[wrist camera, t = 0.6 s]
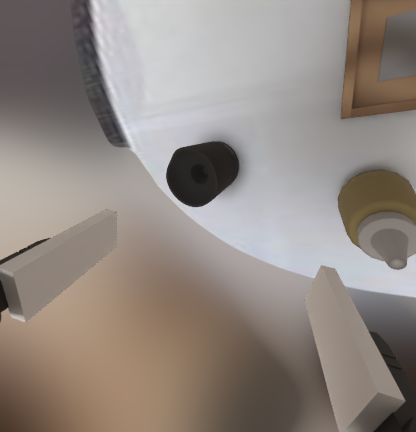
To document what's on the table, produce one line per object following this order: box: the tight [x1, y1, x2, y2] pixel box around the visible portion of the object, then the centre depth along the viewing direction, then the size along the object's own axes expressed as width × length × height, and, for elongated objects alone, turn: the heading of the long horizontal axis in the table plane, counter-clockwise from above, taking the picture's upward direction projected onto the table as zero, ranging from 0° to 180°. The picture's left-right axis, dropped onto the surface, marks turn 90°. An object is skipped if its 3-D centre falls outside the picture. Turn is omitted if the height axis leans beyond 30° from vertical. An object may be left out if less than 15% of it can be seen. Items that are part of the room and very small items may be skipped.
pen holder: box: [166, 142, 239, 207], centre depth 37 cm, size 9×9×10 cm
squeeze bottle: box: [338, 170, 416, 270], centre depth 24 cm, size 8×8×18 cm
